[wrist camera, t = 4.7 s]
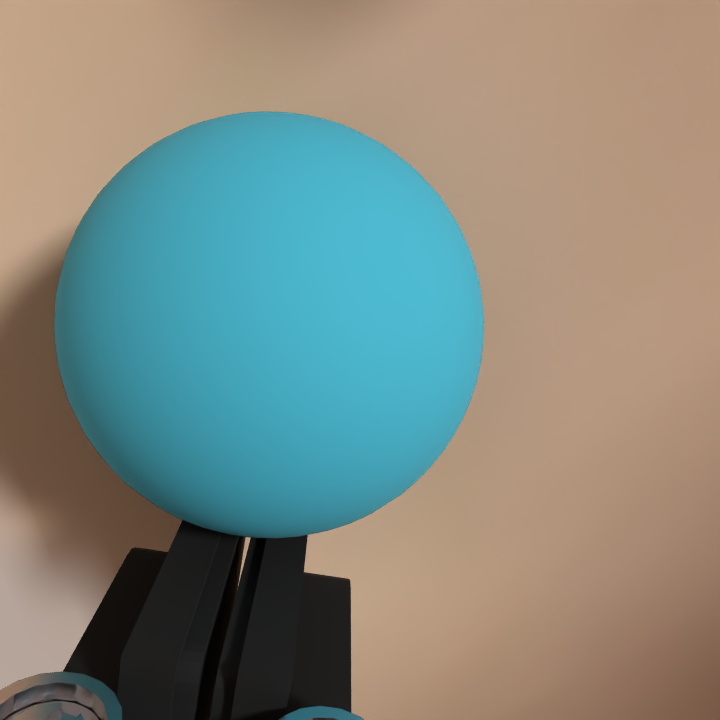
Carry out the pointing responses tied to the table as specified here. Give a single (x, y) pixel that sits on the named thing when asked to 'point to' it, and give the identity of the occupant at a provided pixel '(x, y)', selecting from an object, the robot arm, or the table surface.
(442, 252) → the ball
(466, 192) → the table surface
